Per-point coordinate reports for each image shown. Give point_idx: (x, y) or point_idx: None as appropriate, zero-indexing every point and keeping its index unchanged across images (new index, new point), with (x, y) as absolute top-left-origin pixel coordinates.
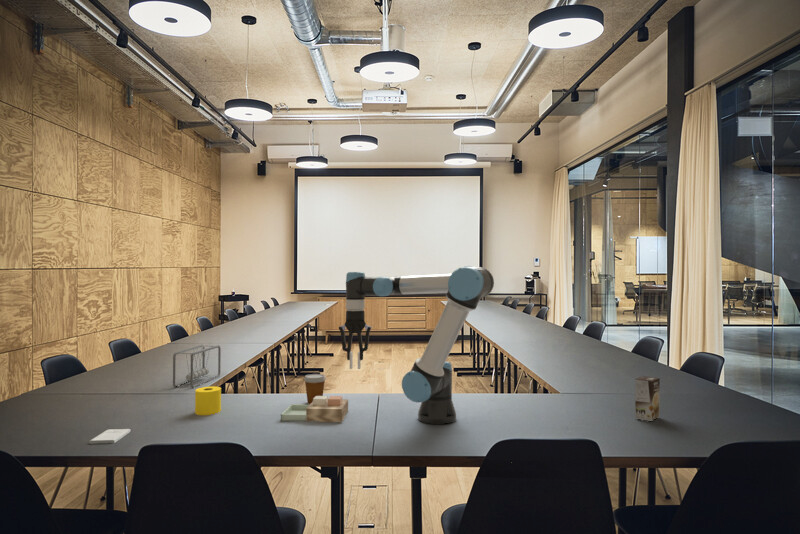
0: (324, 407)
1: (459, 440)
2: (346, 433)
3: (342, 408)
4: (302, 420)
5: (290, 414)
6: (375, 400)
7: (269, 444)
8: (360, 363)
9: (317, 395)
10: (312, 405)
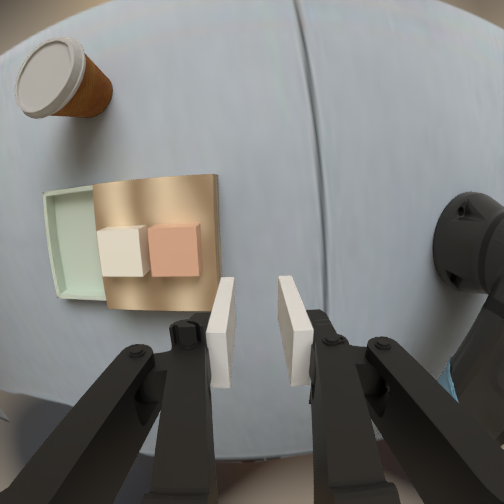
0: (155, 294)
1: None
2: (255, 376)
3: None
4: None
5: (77, 297)
6: (292, 37)
7: None
8: (295, 287)
9: (88, 108)
10: None
